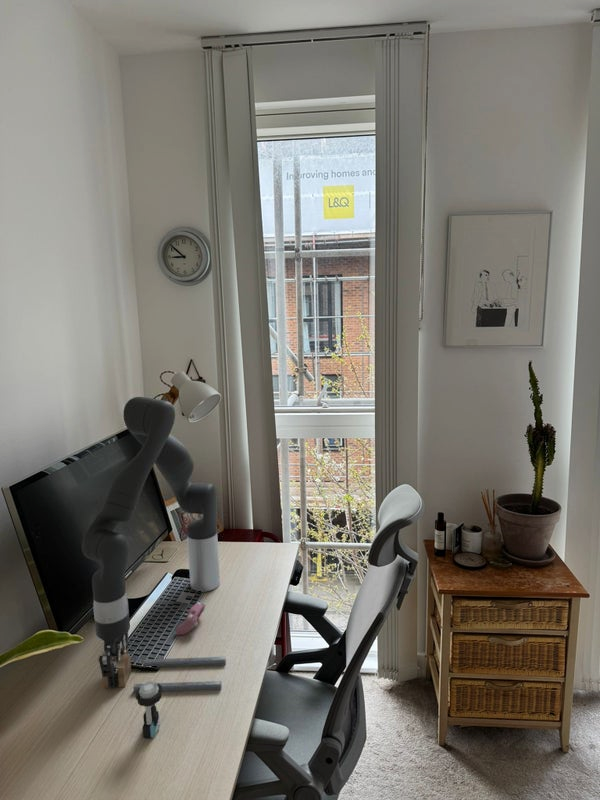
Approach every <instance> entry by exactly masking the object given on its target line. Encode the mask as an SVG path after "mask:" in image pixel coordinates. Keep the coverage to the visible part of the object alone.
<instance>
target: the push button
mask: <svg viewBox="0 0 600 800" xmlns="http://www.w3.org/2000/svg"><path fill="white" fill-rule="evenodd" d="M158 683H159V682H156V681H152V680H151V681H146V682H144V683H141V684H142V685H141V687H140V688H138V690H137V691H136V693H134V695H135V699H136V701H137V704H138V705H139V706H141V707H142V706H143V707H144V708H145V711H144V713H143V717H142V718H143V725H142V736H143V739H153V738H155V734H156V731H157V729H158V730H160V727H161V721H160V719H159V718H160V714H159V709H158V708H157V706H156V704H157V703H158V702H159V701H160V700H161V699H162V694H163V692H162V686H161V685H160V684H158Z"/></svg>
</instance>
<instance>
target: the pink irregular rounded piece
mask: <svg viewBox="0 0 600 800" xmlns="http://www.w3.org/2000/svg"><path fill="white" fill-rule="evenodd" d="M205 609H206V604H205V603H203V602H199V601H198V602H196V603H195V604H194V605H193V606H192V607H190V608H189V609H188V610H187V616H186V618H185V620H184V621H183V622H182V623H181V624H179V625H178V626H177V627H176V629H175V633H176V634H177V635H178V636H181V635H185V634H187V633H189V632H190V631H192V630H193V629H194V627H197V626H198V622H200V621H201V620H200V617H201V616H202V614H204V611H205Z"/></svg>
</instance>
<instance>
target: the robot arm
mask: <svg viewBox="0 0 600 800" xmlns="http://www.w3.org/2000/svg"><path fill="white" fill-rule="evenodd" d="M122 415H123V421H124V422H123V423H124V424H125V426H126V429H127V430H128V432H130V434H131V435H132V436H133V437H134V438H135V439H136V440H137V441H138V442H139V444H141V446H142V447H141V448H140V450H139V452H138V453H137V454H136V455H135V457H133V458H132V459H131V460H130V461H129V462H128V463H127V464H126V465H125V466H124V467H123V468H122V469H121V470H120V471H118V472H117V474H116V476H115V477H114V478H113V480H112V482H111V484H110V486H109V488H108V491H107V493H106V497H105V499H104V502H103V505H102V508H101V509H100V511H99V512H98V514H96V516H95V518H94V519H93V521H92V522H91V524H90V525H89V527H88V529H86V531H85V533H84V535H83V538H82V543H81V550H82V554H83V555H84V557H85V558H87V559H89V560H92V561H95V562H98V563H102V568H99V569H98V570H96V571H95V572H94V574H93V576H92V578H91V586H92V593H93V594H92V596H93V605H92V606H93V615H94V616H93V617H94V625H95V635H96V636H97V638H99V639H100V640H101V641H103V645H102V650H103V655H99V657H98V663H99V667H100V671H101V675H103V677H108V685H109V688H111V689H112V688H119V687H118V685H119V679H118V662H119V661H120V654H127V649H128V648H129V630H130V628H131V620H130V611H129V600H128V597H127V590H126V580H125V576H126V575H125V574H126V570H127V565H128V560H129V554H130V546H129V542H128V540H127V538H126V537H125V536H124V535H123V534H122V533H119V532H116V531H115V529H116V528H117V526H118V525H119V524H122V523H128V522H130V521H131V520H132V518H133V516H134V513H135V510H136V507H137V504H138V501H139V499H140V496H141V493H142V491H143V488H144V485H145V483H146V481H147V480H148V479H147V478H148V476H149V474H150V472H151V470H152V468H153V467H154V465H155V466H156V468H157V470H158V471H159V473H160V475H162V476H163V478H164V479H165V481H166V482H167V484H168V485H169V487H170V489H171V491H172V493H173V495H174V497H175V500H176V502H177V504H178V506H179V508H180V509H181V510H182V512H184V513H187V514H196V515H198V514H200V515H202V517H201V518H198V519H196V520H193V521H192V522H190V523H189V524H188V525H187V526H186V540H187V541H186V542H187V543H186V544H187V552H188V553H187V554H188V556H187V557H188V567H189V568H188V569H189V570H188V571H189V583H190V584H189V585H190V588H191V589H192V590H193V589H194V590H196V591H195V592H198V591H201V592H200V593H204V592H210V591H211V592H212V591H213V590H215V589H217V588H218V587H219V586H220V585H221V576H220V574H221V573H220V559H219V558H220V556H219V544H218V543H219V542H218V539H219V538H218V529H217V528H218V493H217V488H216V486H215V485H214V484H213V483H207V482H205V483H204V482H201V483H200V482H190V481H189V480H190V478H191V476H192V475H193V473H194V466H195V464H194V460H193V458H192V456H191V455H190V452H189V450H188V449H187V447H186V446H185V445H184V444H183V443H182V442H181V441H180V440H178V439H177V438H176V437H175V436H173V435H172V434H171V431H172V429H173V427H174V424H175V421H176V411H175V407H174V405H173V404H172V403H171V402H169V401H167V400H163V399H159V398H158V399H156V398H153V397H146V396H134V397H132V398H130V399H129V400H128V401H127V402H126V404H125V405H124V408H123V413H122ZM194 590H193V591H194ZM115 656H116V658H113V657H115ZM113 663H114V665H113Z"/></svg>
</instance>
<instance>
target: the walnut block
mask: <svg viewBox="0 0 600 800" xmlns="http://www.w3.org/2000/svg"><path fill="white" fill-rule="evenodd" d="M113 658H116V656H115V657H113ZM113 665H114V663H113ZM131 674H132V665H131V655H130V653H126V654H120V661H119V662H118V679H119V685H118V687H117V688H125V687H126V686H127V684H128V681H129V679H130V676H131ZM101 675H102V674H101ZM102 686H103V688H104V689H106V688H110V687H109V685H108V677H103V675H102Z"/></svg>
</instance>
